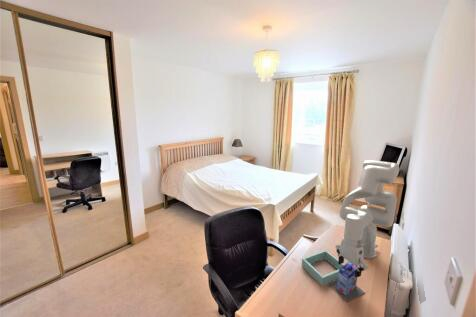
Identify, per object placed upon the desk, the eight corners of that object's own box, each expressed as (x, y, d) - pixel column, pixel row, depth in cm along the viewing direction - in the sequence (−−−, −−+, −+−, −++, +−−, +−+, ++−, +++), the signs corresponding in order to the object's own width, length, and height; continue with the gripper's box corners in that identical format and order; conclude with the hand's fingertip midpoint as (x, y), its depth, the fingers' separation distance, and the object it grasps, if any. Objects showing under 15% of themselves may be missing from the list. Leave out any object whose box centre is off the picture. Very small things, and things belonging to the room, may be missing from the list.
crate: (325, 257, 130) (325, 249, 129) (347, 275, 116) (347, 267, 115) (301, 265, 124) (302, 258, 123) (322, 286, 109) (322, 277, 108)
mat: (346, 277, 114) (346, 276, 114) (364, 293, 105) (364, 292, 105) (329, 284, 110) (329, 284, 110) (347, 302, 100) (347, 301, 100)
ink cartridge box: (346, 296, 102) (349, 271, 99) (336, 288, 107) (338, 264, 104) (357, 286, 108) (360, 262, 105) (346, 279, 112) (349, 256, 109)
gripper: (375, 247, 94) (370, 279, 98) (343, 228, 110) (340, 256, 114) (363, 252, 92) (359, 285, 96) (332, 231, 107) (329, 260, 111)
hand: (349, 269), depth 105 cm, fingers open, 9 cm apart
